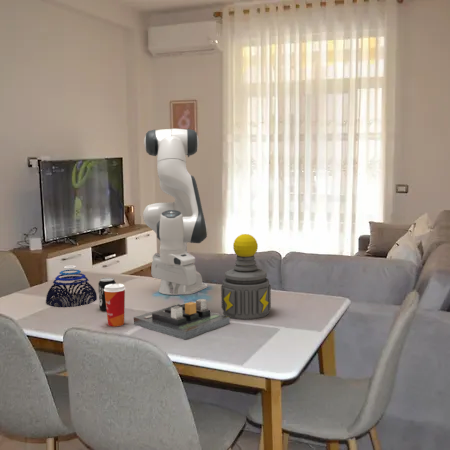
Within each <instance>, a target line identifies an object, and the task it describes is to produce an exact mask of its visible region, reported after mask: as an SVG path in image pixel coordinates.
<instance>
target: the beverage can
mask: <svg viewBox="0 0 450 450" xmlns="http://www.w3.org/2000/svg"><path fill="white" fill-rule="evenodd" d="M109 284H117V282H116V281H115V278H114V277H101V278H100V279H99V282H98V303H99V310H101V311H103V312H107V310H106V300H105V291H104V288H105V286H106V285H109Z"/></svg>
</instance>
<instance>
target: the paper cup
mask: <svg viewBox="0 0 450 450" xmlns="http://www.w3.org/2000/svg"><path fill="white" fill-rule="evenodd" d="M104 291H105V300H106V310H107V311H106V319H107V325H108V326H109V327H113V328H114V327H120V326H123V325H124V324H125V298H126V287H125V285H124V284H123V283H116V284H109V285H106V286H105V288H104Z"/></svg>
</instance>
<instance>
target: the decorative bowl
mask: <svg viewBox="0 0 450 450" xmlns="http://www.w3.org/2000/svg"><path fill="white" fill-rule="evenodd" d="M77 267H78V266H76V265H65V266H64V267H63V269H64V270H61V271H60V272H59V274H58V275H57V276H56V277H55V278H54V280H53V282H52V283H53V284H52V285H51V286H50V288H49V289H48V292H47V294H46V300H45V303H46V305H47V306H51V307H52V308H53V307H54V308H74V307H80V306H81V305H82V306H86V305H89V304H91V303H95V302H96V301H97V300H98V295H97V292H96V289H95V288H94V287H93V285H92V284H91V283H90V282H88V281H89V279H88V277H86V274H84V273H81V272H82V271H81V270H80V269H76V268H77ZM71 271H72V272H71ZM58 281H60V282H58ZM61 281H62V282H61ZM69 281H70V282H69ZM67 286H68V287H67ZM75 287H76V288H75ZM74 295H75V298H74ZM89 296H91V297H89ZM56 304H57V305H56Z"/></svg>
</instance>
